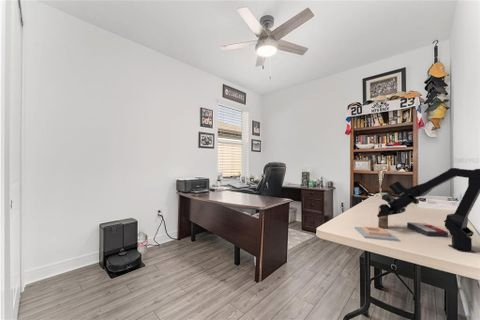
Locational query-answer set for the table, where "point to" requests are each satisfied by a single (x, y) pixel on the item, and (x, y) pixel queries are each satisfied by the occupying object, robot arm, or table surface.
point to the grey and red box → (427, 229)
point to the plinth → (375, 233)
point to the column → (383, 221)
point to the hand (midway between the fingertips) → (381, 215)
